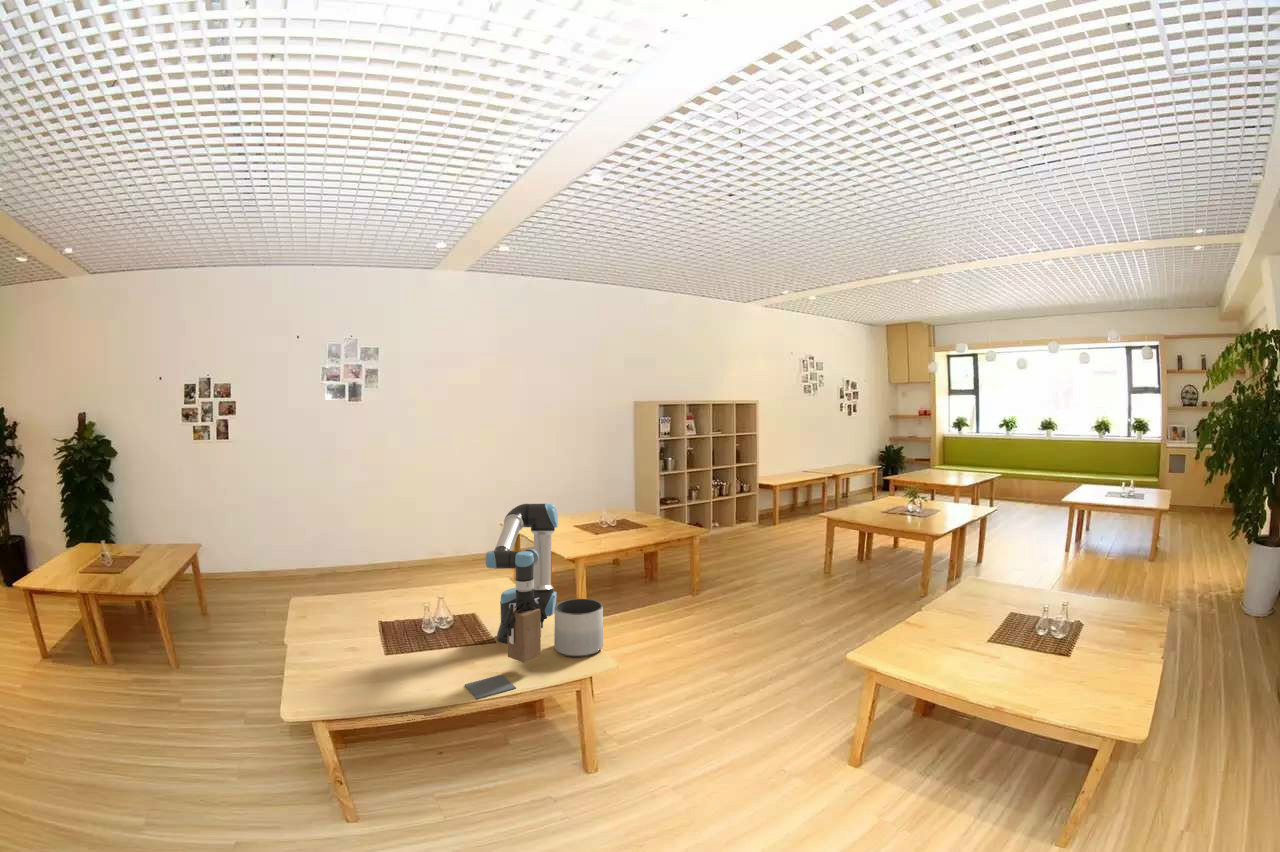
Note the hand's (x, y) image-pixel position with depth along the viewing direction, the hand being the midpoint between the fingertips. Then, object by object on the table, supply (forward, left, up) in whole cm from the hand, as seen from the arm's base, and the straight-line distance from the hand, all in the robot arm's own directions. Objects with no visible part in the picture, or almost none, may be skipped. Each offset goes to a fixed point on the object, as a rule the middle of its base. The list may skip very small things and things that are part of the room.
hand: (525, 639), depth 258 cm
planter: (-10, +31, -14) cm, 35 cm away
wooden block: (-1, 0, -8) cm, 8 cm away
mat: (+4, -17, -14) cm, 23 cm away
